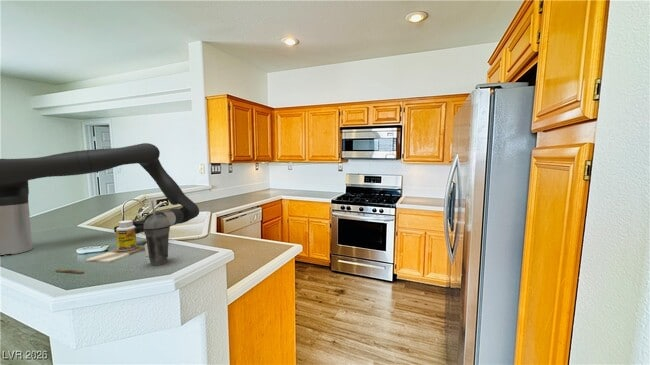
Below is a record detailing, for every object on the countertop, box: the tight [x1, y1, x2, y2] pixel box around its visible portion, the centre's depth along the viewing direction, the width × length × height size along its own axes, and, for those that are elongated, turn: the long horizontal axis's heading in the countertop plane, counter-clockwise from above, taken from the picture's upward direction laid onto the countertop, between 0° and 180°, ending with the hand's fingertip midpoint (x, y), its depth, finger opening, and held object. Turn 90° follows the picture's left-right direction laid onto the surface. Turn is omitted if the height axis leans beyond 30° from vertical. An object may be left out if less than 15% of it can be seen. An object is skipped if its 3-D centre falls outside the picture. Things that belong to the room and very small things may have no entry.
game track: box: [55, 246, 145, 275], centre depth 88 cm, size 9×22×1 cm, turn 170°
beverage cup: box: [143, 200, 171, 267], centre depth 83 cm, size 7×7×20 cm
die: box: [144, 243, 149, 257], centre depth 92 cm, size 4×4×4 cm
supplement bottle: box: [115, 219, 137, 251], centre depth 95 cm, size 6×6×10 cm
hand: (125, 230), depth 94 cm, fingers open, 8 cm apart
